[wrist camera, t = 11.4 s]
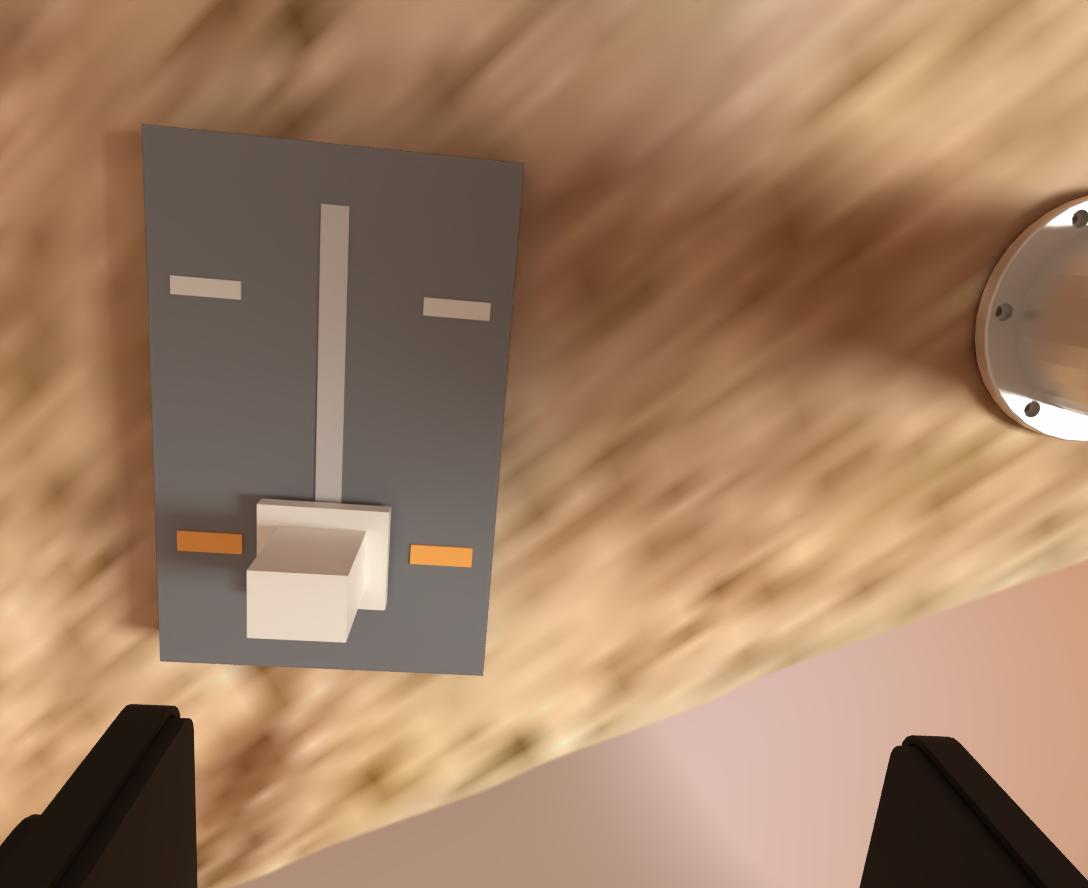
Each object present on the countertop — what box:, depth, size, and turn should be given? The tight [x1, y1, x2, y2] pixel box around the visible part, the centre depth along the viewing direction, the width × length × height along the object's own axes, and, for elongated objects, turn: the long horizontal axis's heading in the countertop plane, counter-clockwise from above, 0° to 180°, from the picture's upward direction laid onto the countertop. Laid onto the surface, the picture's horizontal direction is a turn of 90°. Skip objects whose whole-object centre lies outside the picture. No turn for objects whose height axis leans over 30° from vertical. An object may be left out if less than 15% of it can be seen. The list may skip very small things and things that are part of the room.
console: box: [142, 124, 524, 676], centre depth 38 cm, size 16×25×3 cm, turn 175°
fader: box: [247, 499, 391, 643], centre depth 35 cm, size 6×5×6 cm
